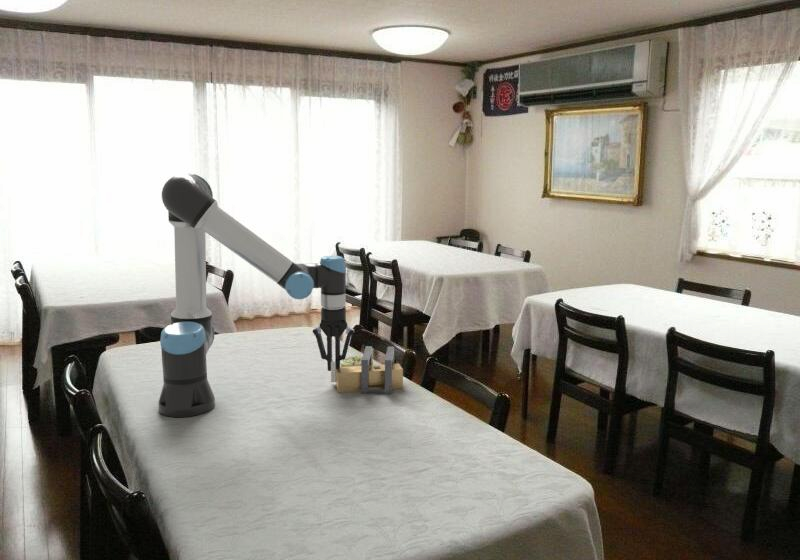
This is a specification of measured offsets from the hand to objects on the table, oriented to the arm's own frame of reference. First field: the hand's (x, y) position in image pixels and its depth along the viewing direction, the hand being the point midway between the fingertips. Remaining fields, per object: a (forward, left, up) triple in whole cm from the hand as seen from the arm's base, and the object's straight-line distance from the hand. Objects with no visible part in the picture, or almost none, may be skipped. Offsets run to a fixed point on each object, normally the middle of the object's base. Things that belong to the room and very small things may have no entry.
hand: (333, 380), depth 203 cm
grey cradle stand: (0, -14, -1) cm, 14 cm away
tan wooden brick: (-2, -11, -1) cm, 11 cm away
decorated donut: (+16, -5, -2) cm, 17 cm away
